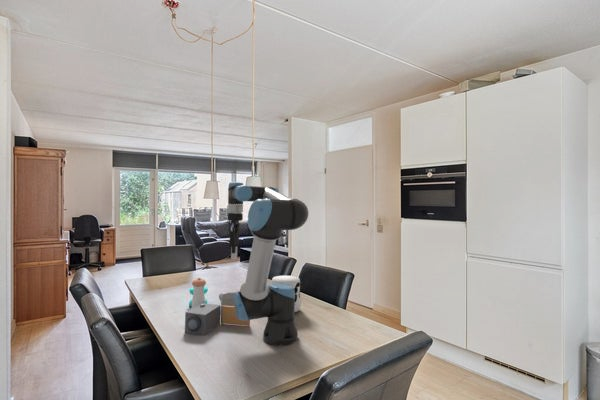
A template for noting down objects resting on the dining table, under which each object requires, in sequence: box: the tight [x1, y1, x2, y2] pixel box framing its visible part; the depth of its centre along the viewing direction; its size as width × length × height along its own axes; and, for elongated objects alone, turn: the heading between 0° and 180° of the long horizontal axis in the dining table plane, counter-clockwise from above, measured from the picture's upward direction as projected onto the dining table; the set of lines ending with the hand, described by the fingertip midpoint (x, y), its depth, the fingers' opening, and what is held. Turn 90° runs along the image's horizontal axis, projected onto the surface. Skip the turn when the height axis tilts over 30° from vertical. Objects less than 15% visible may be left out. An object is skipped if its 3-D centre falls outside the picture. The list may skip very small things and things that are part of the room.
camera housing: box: [184, 303, 221, 336], centre depth 146 cm, size 10×16×10 cm, turn 166°
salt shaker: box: [190, 277, 207, 310], centre depth 165 cm, size 7×7×19 cm
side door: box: [220, 305, 251, 327], centre depth 152 cm, size 1×15×8 cm, turn 81°
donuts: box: [188, 286, 208, 308], centre depth 179 cm, size 10×10×10 cm
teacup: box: [218, 292, 235, 306], centre depth 175 cm, size 14×11×8 cm
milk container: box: [271, 275, 302, 314], centre depth 173 cm, size 17×17×18 cm
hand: (233, 259), depth 159 cm, fingers closed
